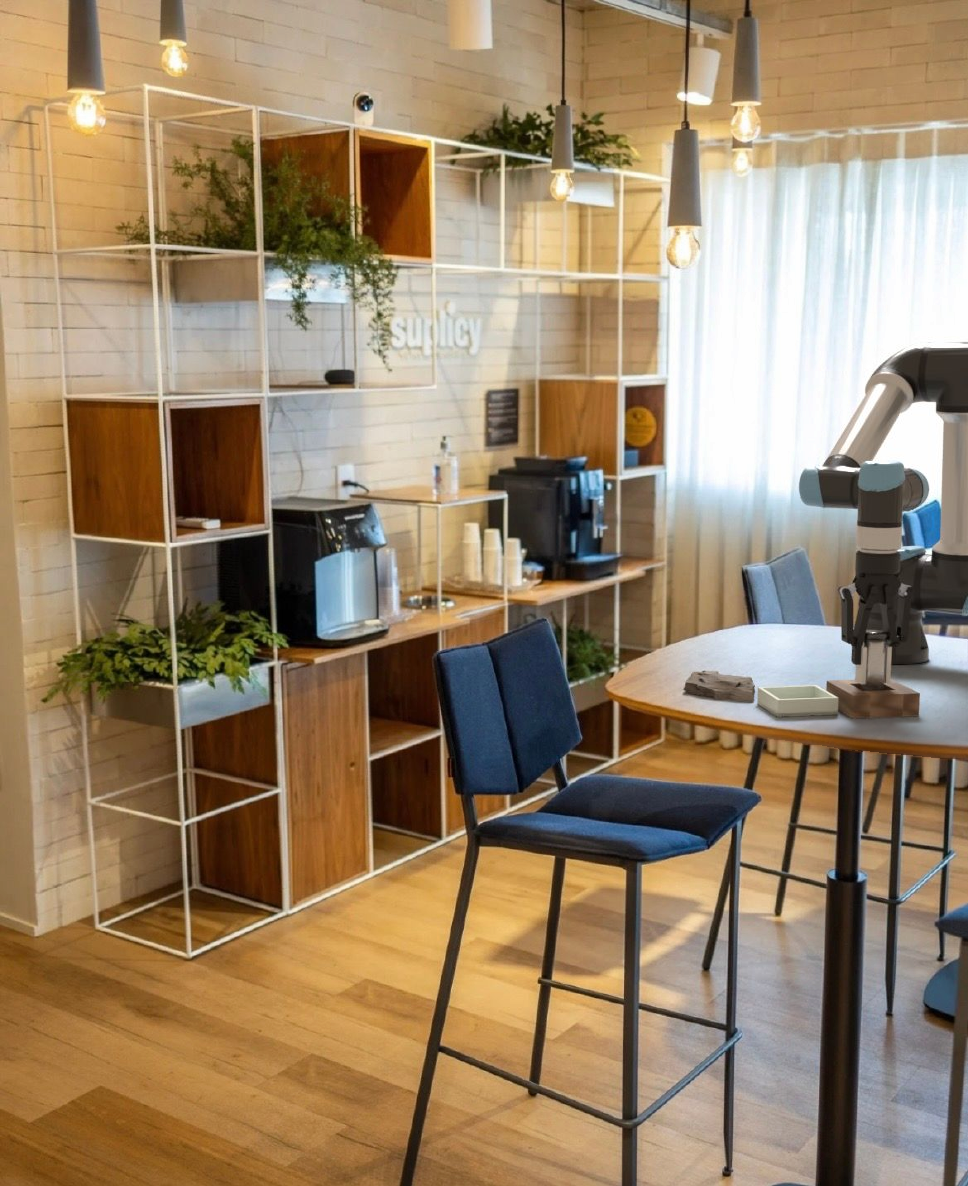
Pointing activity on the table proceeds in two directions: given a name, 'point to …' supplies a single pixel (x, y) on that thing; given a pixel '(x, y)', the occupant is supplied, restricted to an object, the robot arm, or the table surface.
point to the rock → (720, 686)
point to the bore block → (874, 699)
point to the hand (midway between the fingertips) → (872, 681)
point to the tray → (797, 700)
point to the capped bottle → (875, 660)
